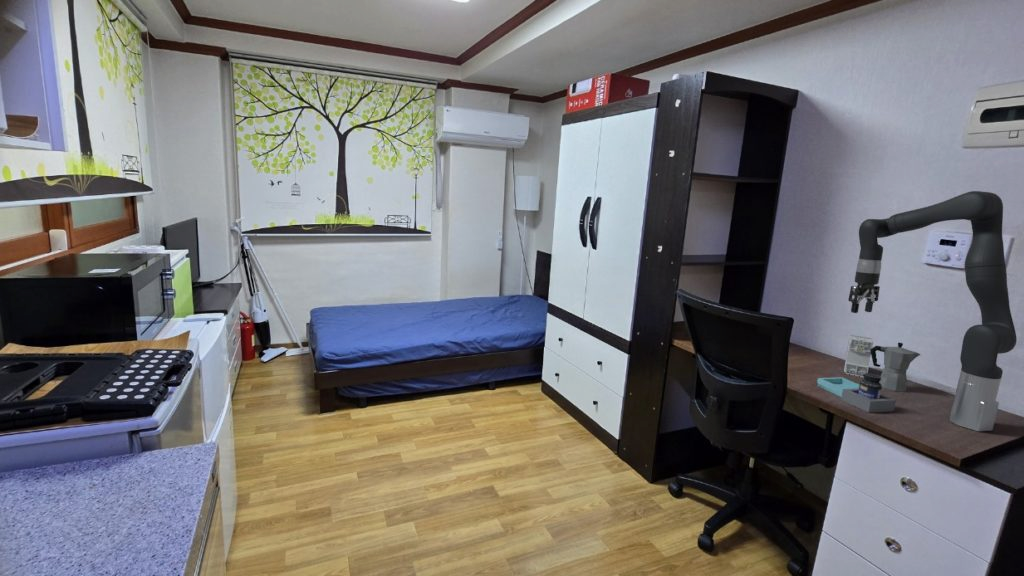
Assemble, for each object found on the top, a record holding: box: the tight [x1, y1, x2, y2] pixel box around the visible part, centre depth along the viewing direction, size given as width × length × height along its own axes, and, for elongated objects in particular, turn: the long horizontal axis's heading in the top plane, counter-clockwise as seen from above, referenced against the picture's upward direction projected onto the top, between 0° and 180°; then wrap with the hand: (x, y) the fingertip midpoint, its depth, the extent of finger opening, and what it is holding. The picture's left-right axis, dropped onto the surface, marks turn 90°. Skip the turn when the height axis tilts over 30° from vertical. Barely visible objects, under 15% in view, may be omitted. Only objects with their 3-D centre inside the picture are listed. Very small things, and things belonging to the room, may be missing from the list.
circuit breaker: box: [843, 334, 874, 378], centre depth 200 cm, size 8×14×15 cm, turn 146°
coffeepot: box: [870, 342, 921, 393], centre depth 183 cm, size 15×9×18 cm, turn 67°
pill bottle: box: [858, 372, 883, 399], centre depth 164 cm, size 6×6×11 cm
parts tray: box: [816, 376, 860, 398], centre depth 178 cm, size 11×11×3 cm
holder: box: [840, 388, 897, 414], centre depth 165 cm, size 10×10×4 cm
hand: (861, 312), depth 187 cm, fingers open, 8 cm apart
